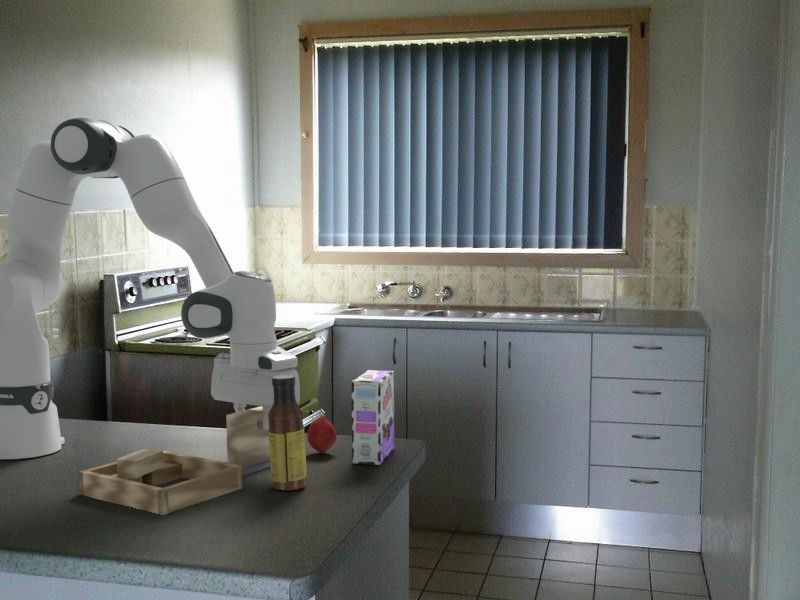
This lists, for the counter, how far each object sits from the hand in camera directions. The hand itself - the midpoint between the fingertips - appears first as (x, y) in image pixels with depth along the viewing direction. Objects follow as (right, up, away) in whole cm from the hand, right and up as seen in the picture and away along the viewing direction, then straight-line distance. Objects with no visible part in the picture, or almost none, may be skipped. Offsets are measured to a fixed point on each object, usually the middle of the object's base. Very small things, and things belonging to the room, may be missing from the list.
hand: (254, 427), depth 185 cm
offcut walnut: (-16, -9, -11) cm, 21 cm away
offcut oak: (-21, -9, -18) cm, 29 cm away
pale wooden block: (0, -7, +1) cm, 7 cm away
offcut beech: (-18, -6, -15) cm, 24 cm away
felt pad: (0, -7, +1) cm, 7 cm away
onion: (+12, -7, +8) cm, 16 cm away
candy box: (+23, -7, +6) cm, 25 cm away
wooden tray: (-13, -9, -18) cm, 24 cm away
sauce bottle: (+8, -9, -16) cm, 20 cm away
